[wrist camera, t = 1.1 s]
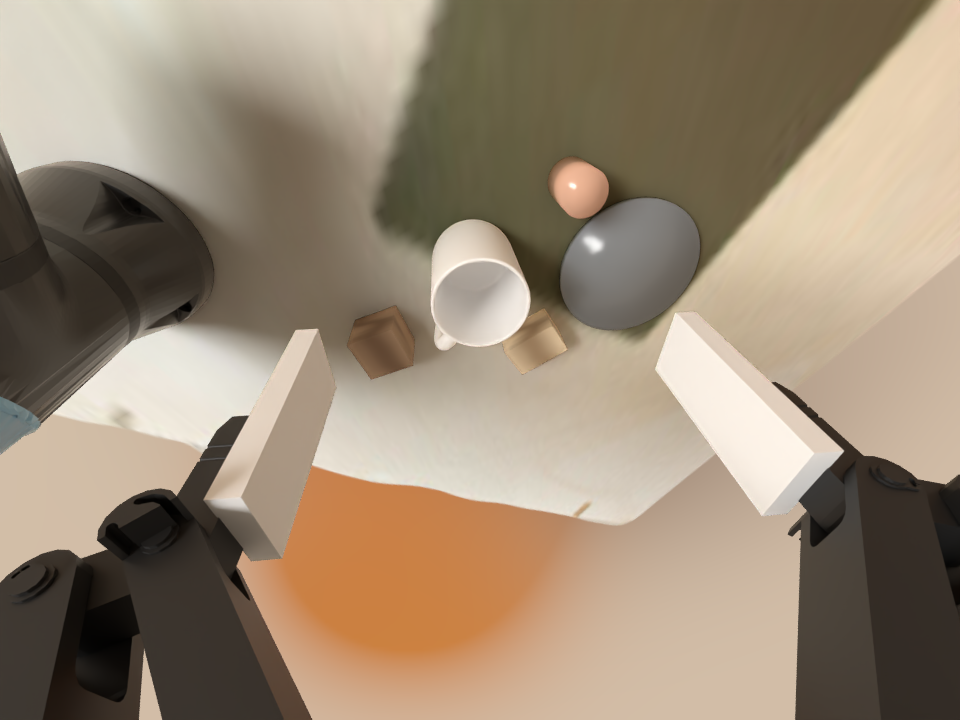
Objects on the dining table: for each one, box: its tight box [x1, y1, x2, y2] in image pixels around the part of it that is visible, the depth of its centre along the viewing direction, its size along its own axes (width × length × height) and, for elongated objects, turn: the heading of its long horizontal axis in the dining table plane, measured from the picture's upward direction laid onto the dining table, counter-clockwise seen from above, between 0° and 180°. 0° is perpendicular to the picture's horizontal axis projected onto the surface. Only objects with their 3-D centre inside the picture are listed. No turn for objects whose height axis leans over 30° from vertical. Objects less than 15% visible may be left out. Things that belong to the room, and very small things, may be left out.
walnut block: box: [347, 306, 415, 379], centre depth 42 cm, size 5×5×5 cm
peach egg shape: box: [548, 156, 609, 218], centre depth 34 cm, size 4×4×5 cm
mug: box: [431, 219, 531, 350], centre depth 36 cm, size 12×8×10 cm
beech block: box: [502, 308, 568, 375], centre depth 44 cm, size 6×4×4 cm, turn 124°
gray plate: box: [559, 197, 700, 330], centre depth 41 cm, size 15×15×1 cm
